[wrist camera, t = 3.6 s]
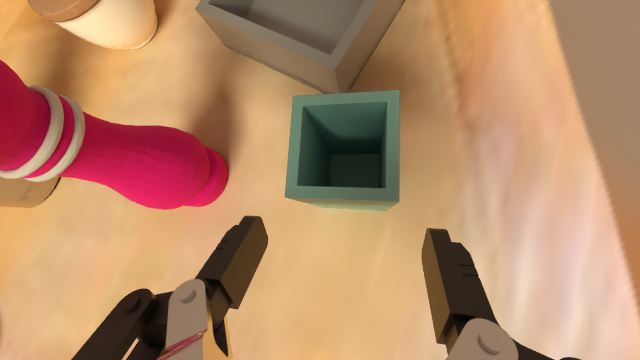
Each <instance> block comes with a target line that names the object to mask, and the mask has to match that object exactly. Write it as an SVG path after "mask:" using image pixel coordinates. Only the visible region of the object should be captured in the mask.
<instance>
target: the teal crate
mask: <svg viewBox="0 0 640 360" xmlns="http://www.w3.org/2000/svg"><path fill="white" fill-rule="evenodd" d="M399 122H400V90H388V91H371V92H354V93H337V94H320V95H303V96H293V104H292V116H291V128H290V140H289V152H288V164H287V176H286V188H285V197H286V198H290V199H293V200H297V201H301V202H304V203H308V204H311V205H315V206H318V207H322V208H337V209H358V210H378V211H386V210H388V209H389V208H391V207H392V206H394V205H395V204H397V203H398V202H399Z"/></svg>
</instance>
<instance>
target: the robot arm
mask: <svg viewBox="0 0 640 360" xmlns="http://www.w3.org/2000/svg"><path fill="white" fill-rule="evenodd" d="M58 178H59V176H56V177H54V178H52V179H49V180H46V181H41V182H34V181H29V180H26V179H24V178H14V179H9V178H4V177H1V176H0V207H24V208H26V207H32V206H35V205H37V204H39V203H40V202H42V201H43V200H44V199H45V198H46V197H48V195H49V194H50V193H51V192H52V190H53V189H54V187H55V185H56V183H57V181H58ZM267 245H268V236H267V233H266V230H265V227H264V224H263V221H262V218H261V217H260V216H244V217H243V219H242V220H241V222H240V223H239V225H235V226H233V227H232V228H231V229H230V230H229V231H227V232H226V234H225V235H224V237H223V238H222V240H221V242H220V243H219V244H218V246H217V247H216V250H214V251H213V253H212V254H211V256H210V257H209V259H208V260H207V262H206V263H205V265H204V266H203V268H202V269H201V270H200V272H199V273H198V275H197V276H196V278H195V279H192V280H189V281H186V282H184V283H183V284H181V285H180V286H179V287H178V288H177V289H176V290H175V291H172V292H167V293H162V294H157V295H154V294H153V293H152V292H151V291H150V290H148V289H138V290H136V291H133V292H131V293H130V294H128V295H127V296H125V297H124V298H123V299H122V300H121V301H120V302H119V303H118V304H117V305H116V307H115V308H114V309H113V310H112V311H111V313H110V314H109V315H108V316H107V317H106V319H105V320H104V321H103V322H102V323H101V325H100V326H99V327H98V328H97V329H96V331H95V332H94V333H93V334H92V335H91V337H90V338H89V339H88V340H87V341H86V343H85V344H84V345H83V346H82V347H81V349H80V350H79V351H78V352H77V354H76V355H75V356H74V357H73V358H72V360H122V358H123V357H124V355H125V354H126V352H127V351H128V350H129V348H130V347H131V345H132V344H133V342H134V341H135V339H136V338H137V339H138V340H139V341H138V343H137V344H136V346H135V347H134V349H133V350H132V352H131V353H130V355H129V356H128V358H127V359H126V360H233V357H232V351H231V343H230V336H229V329H228V322H227V316H226V313H227V311H228V309H229V308H233V309H238V308H239V306H240V304H241V302H242V300H243V297H244V295H245V293H246V291H247V289H248V287H249V285H250V282H251V280H252V278H253V276H254V274H255V272H256V269H257V267H258V265H259V263H260V261H261V259H262V257H263V254H264V252H265V250H266V248H267ZM422 265H423V271H424V276H425V282H426V287H427V293H428V298H429V304H430V309H431V314H432V320H433V325H434V331H435V336H436V342H437V343H439V344H445V345H446V348H447V353H448V357H447V358H446V360H554V359H552V358H549V357H547V356H545V355H542V354H540V353H538V352H536V351H533V350H531V349H529V348H527V347H525V346H523V345H521V344H519V343H518V342H516V341H515V340H514V339H512V338H511V337H510V336H509V335H508V334H507V332H506V331H505V330H503V329H502V328H501V327H500V325H499V324H498V322H497V321H496V319H495V316H494V314H493V311H492V309H491V306H490V304H489V301H488V298H487V296H486V293H485V291H484V288H483V286H482V283H481V281H480V278H479V277H478V276H479V275H478V273H477V270H476V268H475V265H474V263H473V260H472V257H471V255H470V253H469V252H468V251H467V250H466V249H465V247H464V246H463V245H462V244H461V243H456V242H451V240H450V237H449V234H448V231H447V230H446V229H433V228H427V230H426V234H425V239H424V243H423V248H422ZM560 360H580V359H577V358H572V357H565V358H562V359H560Z"/></svg>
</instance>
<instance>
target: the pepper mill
mask: <svg viewBox="0 0 640 360" xmlns="http://www.w3.org/2000/svg"><path fill="white" fill-rule="evenodd" d="M0 176H1V177H4V178H9V179H14V178H24V179H26V180H29V181H34V182H41V181H46V180H49V179H52V178H54V177H56V176H59V177H71V178H78V179H83V180H88V181H92V182H97V183H100V184H103V185H106V186H108V187H110V188H112V189H114V190H115V191H117V192H118V193H120V194H121V195H123V196H124V197H126V198H128V199H129V200H131V201H133V202H136V203H138V204H140V205H143V206H146V207H149V208H156V209H164V210H166V209H175V208H178V207H181V206H183V205H185V206H195V207H201V206H206V205H208V204H210V203H212V202H213V201H215V200H216V199H217V198H218V197H219V196H220V195H221V193H222V192H223V190H224V188H225V186H226V183H227V179H228V169H227V166H226V162H225V160H224V159H223V157H222V156H221V155H220V154H219V153H217V152H216V151H214V150H212V149H209V148H207V147H205V146H203V145H202V144H201V142H200V141H199V140H198V139H197V138H195V137H194V136H193V135H191V134H189V133H187V132H184V131H181V130H179V129H176V128H172V127H165V126H133V125H122V124H116V123H111V122H108V121H105V120H102V119H99V118H96V117H93V116H91V115H89V114H87V113H85V112H83V111H82V109H81V107H80V106H79V104H78V103H77V102H76V101H75V100H73V99H72V98H70V97H68V96H64V95H57V94H55V93H54V92H53V91H52V90H50V89H48V88H45V87H42V86H29V87H27V86H26V85H25V84H24V83H23V81H22V80H21V79H20V77H19V76H18V75H17V74H16V73H15V72H14V71H13V70H12V69H11V68H10V67H9V66H8V65H7V64H6V63H4V62H3V61H1V60H0Z"/></svg>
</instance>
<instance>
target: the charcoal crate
mask: <svg viewBox="0 0 640 360" xmlns="http://www.w3.org/2000/svg"><path fill="white" fill-rule="evenodd" d="M404 2H405V0H201V1H200V2H199V4H198V5H197V7H196V8H195V9H196V11H197V12H198V13H199V14H200V16H201V17H202V18H203V19H204V20H205V22H206V23H207V24H208V25H209V26H210V28H211V29H212V30H213V31H214V32H215V34H216V35H217V36H218V37H219V39H220V40H221V41H222V42H223V43H224V45H225V46H226V47H228V48H230V49H232V50H234V51H236V52H238V53H241V54H243V55H245V56H247V57H249V58H251V59H253V60H255V61H257V62H259V63H261V64H264V65H266V66H268V67H270V68H272V69H274V70H276V71H278V72H280V73H282V74H284V75H287V76H289V77H291V78H293V79H295V80H297V81H299V82H301V83H303V84H305V85H307V86H310V87H312V88H314V89H316V90H318V91H320V92H322V93H324V94H337V93H348V92H349V90H350V89H351V87H352V85H353V84H354V82H355V81H356V79H357V77H358V76H359V74H360V72H361V71H362V69H363V68H364V66H365V64H366V63H367V61H368V60H369V58H370V56H371V55H372V53H373V52H374V50H375V48H376V47H377V45H378V44H379V42H380V40H381V39H382V37H383V35H384V34H385V32H386V31H387V29H388V27H389V26H390V24H391V23H392V21H393V19H394V18H395V16H396V15H397V13H398V11H399V10H400V8H401V7H402V5H403V3H404Z"/></svg>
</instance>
